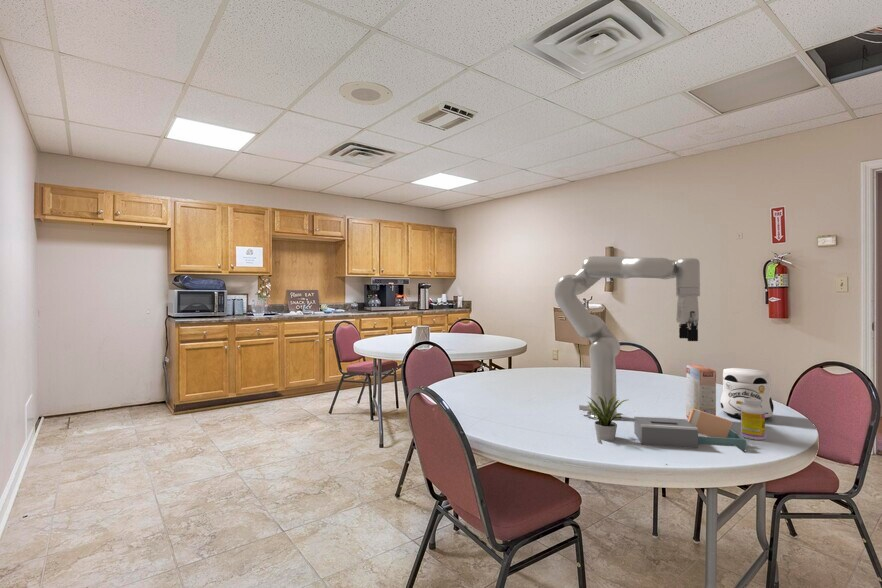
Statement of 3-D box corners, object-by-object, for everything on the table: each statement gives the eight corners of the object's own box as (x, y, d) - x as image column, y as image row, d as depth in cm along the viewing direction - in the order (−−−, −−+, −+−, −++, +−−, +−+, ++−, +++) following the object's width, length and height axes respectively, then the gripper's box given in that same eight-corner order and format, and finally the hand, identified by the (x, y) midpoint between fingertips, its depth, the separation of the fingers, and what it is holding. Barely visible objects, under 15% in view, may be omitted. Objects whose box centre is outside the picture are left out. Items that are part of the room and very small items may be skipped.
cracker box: (717, 428, 160) (716, 370, 160) (699, 427, 161) (698, 370, 161) (702, 417, 174) (702, 364, 174) (685, 416, 175) (685, 364, 175)
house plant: (628, 436, 151) (628, 389, 151) (636, 450, 138) (636, 398, 138) (585, 434, 154) (584, 387, 154) (589, 447, 141) (588, 396, 141)
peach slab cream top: (725, 442, 143) (686, 429, 146) (723, 440, 145) (685, 427, 148) (732, 421, 143) (693, 409, 146) (730, 420, 145) (691, 407, 147)
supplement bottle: (766, 441, 145) (765, 402, 145) (741, 438, 148) (741, 400, 148) (764, 436, 151) (763, 398, 151) (740, 433, 154) (740, 396, 154)
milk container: (737, 422, 166) (737, 375, 166) (711, 410, 184) (711, 367, 184) (784, 423, 166) (784, 375, 166) (754, 410, 183) (754, 367, 183)
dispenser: (641, 449, 139) (641, 425, 139) (634, 437, 151) (634, 414, 151) (698, 452, 135) (697, 428, 135) (685, 440, 147) (685, 417, 147)
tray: (696, 447, 140) (696, 436, 140) (682, 433, 154) (682, 423, 154) (746, 450, 137) (745, 439, 137) (727, 436, 150) (727, 426, 150)
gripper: (670, 292, 169) (670, 337, 169) (683, 292, 152) (684, 342, 152) (691, 292, 167) (692, 337, 167) (708, 292, 150) (708, 342, 150)
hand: (688, 339), depth 160 cm, fingers open, 9 cm apart
